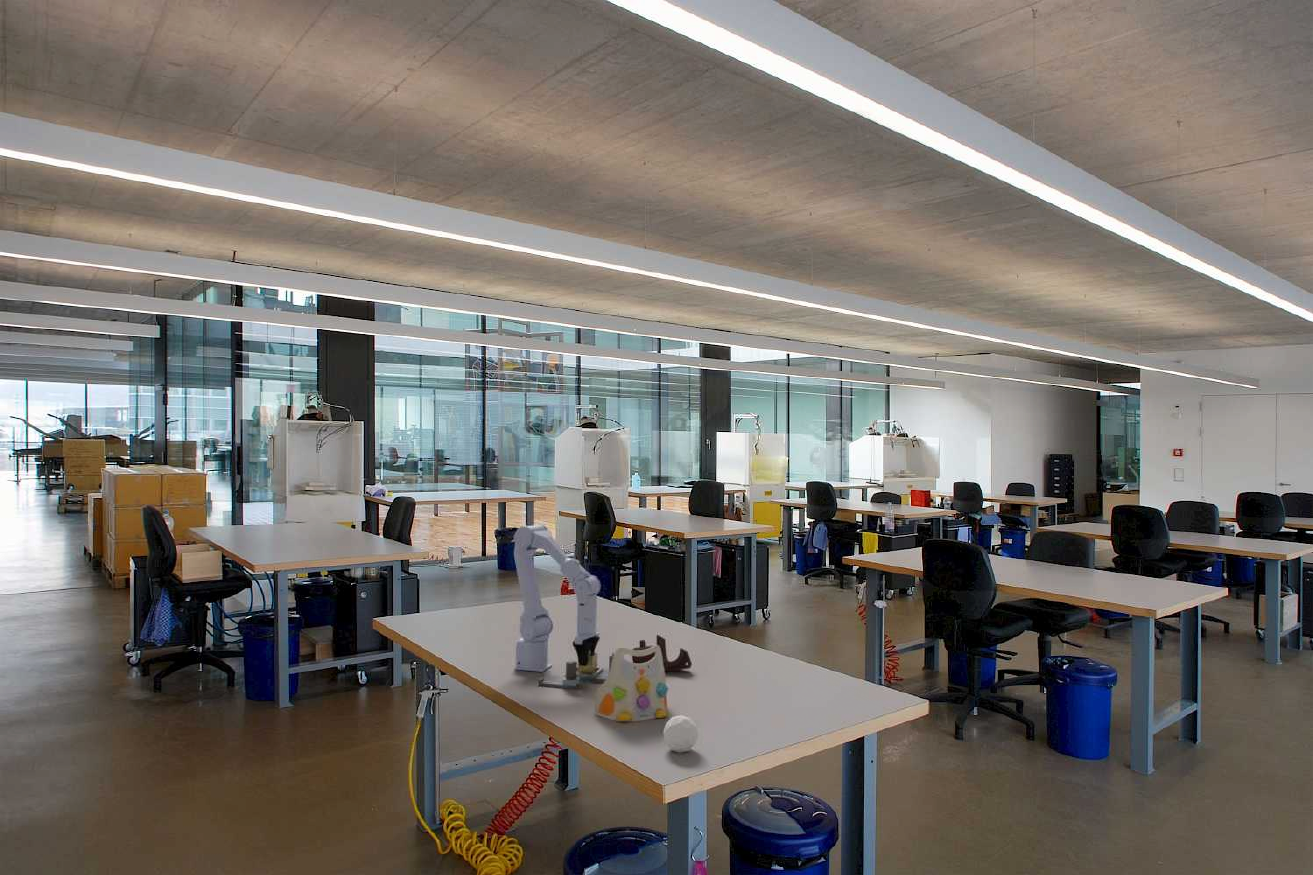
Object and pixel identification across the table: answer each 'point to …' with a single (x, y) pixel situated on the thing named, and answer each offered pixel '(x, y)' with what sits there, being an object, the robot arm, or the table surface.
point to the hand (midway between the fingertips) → (585, 663)
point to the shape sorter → (633, 688)
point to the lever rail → (559, 684)
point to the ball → (680, 733)
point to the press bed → (596, 674)
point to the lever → (571, 674)
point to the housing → (589, 664)
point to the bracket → (663, 656)
